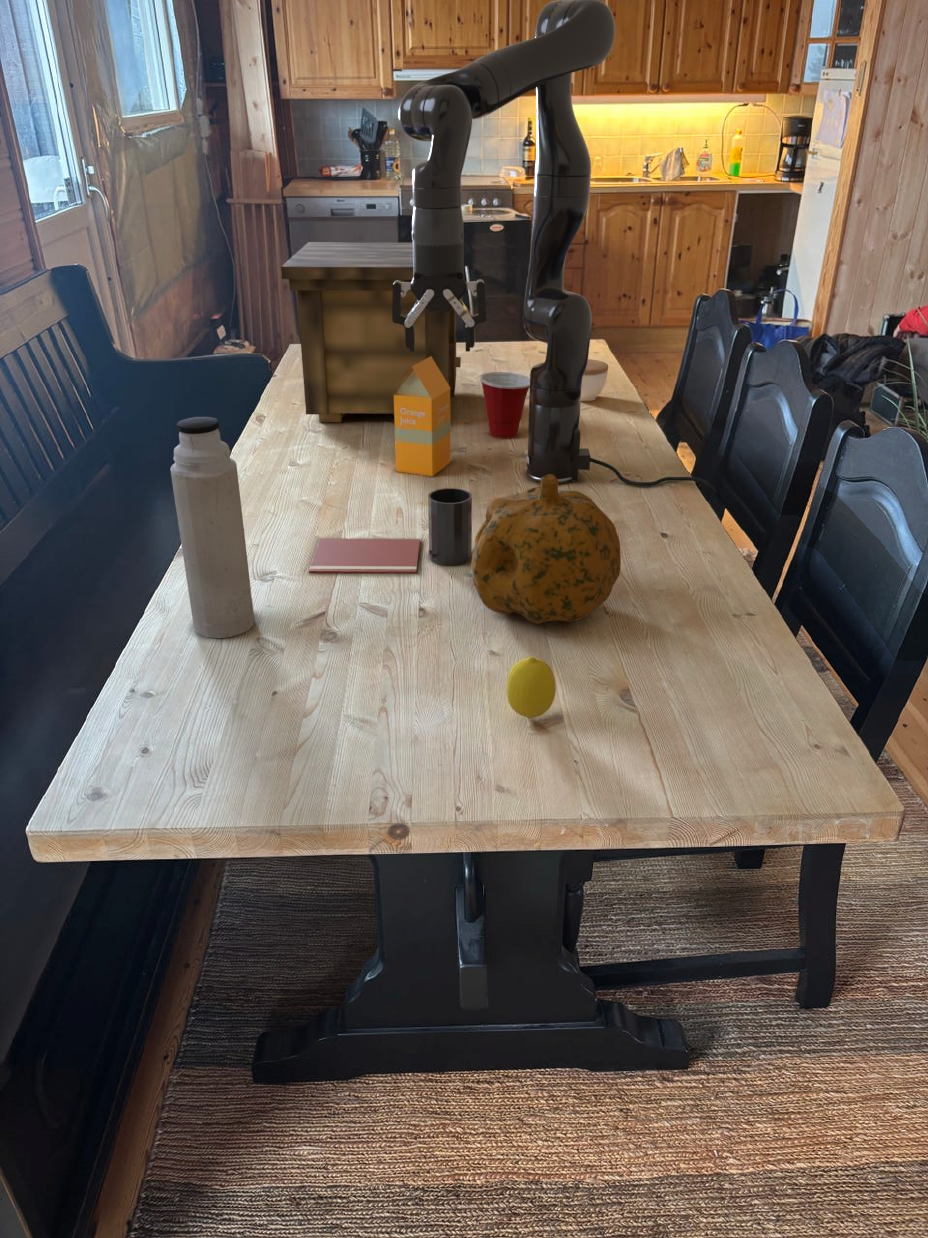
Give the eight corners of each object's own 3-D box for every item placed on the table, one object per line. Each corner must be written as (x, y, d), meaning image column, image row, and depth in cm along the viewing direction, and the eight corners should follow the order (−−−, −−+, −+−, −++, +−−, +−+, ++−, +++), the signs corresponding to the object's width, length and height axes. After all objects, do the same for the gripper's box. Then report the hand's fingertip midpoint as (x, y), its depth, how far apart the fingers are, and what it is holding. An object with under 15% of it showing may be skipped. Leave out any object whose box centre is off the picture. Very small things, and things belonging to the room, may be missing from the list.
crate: (318, 384, 239) (308, 242, 224) (461, 385, 239) (462, 242, 223) (294, 428, 208) (281, 266, 193) (459, 429, 208) (459, 267, 192)
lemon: (502, 705, 115) (504, 646, 111) (549, 703, 115) (552, 644, 111) (508, 732, 110) (510, 671, 106) (557, 730, 110) (561, 669, 106)
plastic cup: (526, 444, 199) (528, 385, 193) (474, 440, 201) (474, 382, 195) (534, 428, 209) (536, 371, 203) (484, 425, 210) (484, 369, 205)
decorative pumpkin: (591, 560, 148) (597, 435, 137) (634, 637, 131) (646, 502, 119) (459, 574, 145) (454, 449, 134) (486, 656, 128) (483, 519, 117)
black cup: (471, 548, 154) (471, 487, 149) (471, 565, 148) (471, 503, 144) (430, 547, 154) (429, 487, 149) (428, 565, 148) (427, 503, 144)
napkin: (420, 540, 157) (420, 538, 156) (416, 573, 146) (416, 571, 146) (319, 540, 157) (319, 538, 156) (308, 572, 146) (308, 570, 146)
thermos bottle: (214, 606, 137) (187, 408, 123) (265, 615, 134) (243, 414, 121) (182, 632, 130) (150, 426, 117) (234, 642, 128) (208, 433, 114)
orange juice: (395, 471, 185) (391, 364, 176) (414, 456, 192) (412, 353, 183) (433, 476, 182) (431, 368, 173) (451, 461, 190) (451, 357, 180)
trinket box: (550, 397, 230) (552, 356, 225) (580, 388, 236) (583, 349, 232) (585, 406, 223) (587, 365, 218) (615, 398, 229) (618, 357, 225)
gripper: (485, 235, 147) (485, 344, 155) (391, 236, 147) (395, 345, 155) (487, 242, 141) (486, 356, 149) (387, 243, 141) (392, 357, 149)
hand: (440, 350), depth 152 cm, fingers open, 8 cm apart
